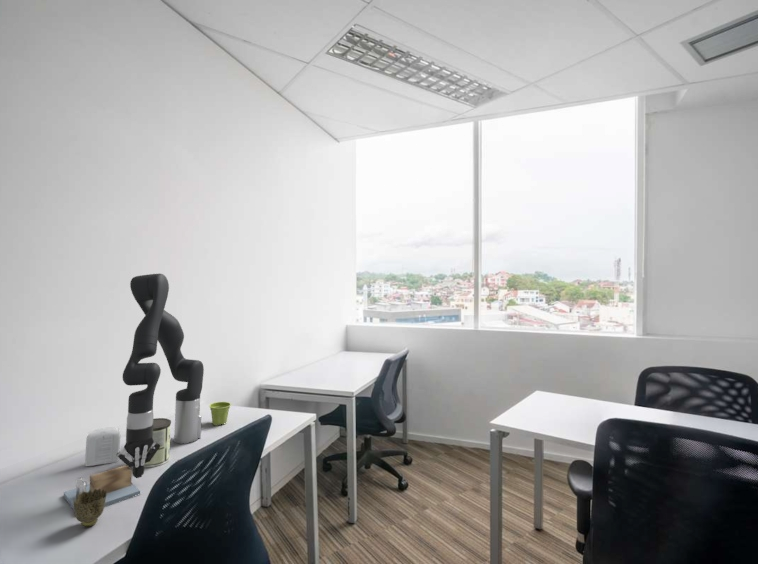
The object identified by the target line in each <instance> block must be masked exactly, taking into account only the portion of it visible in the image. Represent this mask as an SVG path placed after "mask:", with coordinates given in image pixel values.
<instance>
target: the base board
mask: <svg viewBox="0 0 758 564" xmlns="http://www.w3.org/2000/svg"><path fill="white" fill-rule="evenodd" d="M89 488H90V483H89V484H86V492H89ZM138 494H140V495H141V490H140V489H139V488H138V487H137V486H136V485H135V484H133V482H131V486H128V487H125V488H122V489H118V490H115V491H112V492H109V493H107V495H106V501H105V506H106V507H108V506H112V505H115V504H117V503H120V502H122V500H123V501H125V499H126V500H128V499H127V498H129V499H131V498H133V496H134V497H136V496H135V495H137V496H139V495H138ZM63 497H64V499H65V500H66V502H67V503H68V505H69V506H70V507H71V509H72V510H73V511H74V502H73V500H74V499H77V498H76V487H75V488H72V489H69V490H66V491H63ZM119 501H120V502H119ZM105 506H104V508H105Z"/></svg>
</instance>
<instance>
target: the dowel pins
mask: <svg viewBox="0 0 758 564" xmlns="http://www.w3.org/2000/svg"><path fill="white" fill-rule="evenodd" d="M75 481H76V483H75V484H76V485H75V486H76V487H75V488H76V498H77V495H78V494H81V493H82V492H83V491H84V492H86V485H87V481H84V478H83V477H78V478H77V479H76V480H75Z"/></svg>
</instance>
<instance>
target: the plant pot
mask: <svg viewBox="0 0 758 564" xmlns="http://www.w3.org/2000/svg"><path fill="white" fill-rule="evenodd" d="M231 405H232V404H231V402H227V401H217V402H212V403H210V404H209V406H208V407H209V408H210V411H211V412H210V414H211V420H212V425H214V426H220V425H221V424H224V423H226V422H227V421H228V416H229V410H230V408H231ZM227 423H228V422H227ZM227 423H226V424H227ZM224 425H225V424H224ZM221 426H222V425H221Z"/></svg>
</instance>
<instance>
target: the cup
mask: <svg viewBox="0 0 758 564" xmlns="http://www.w3.org/2000/svg"><path fill="white" fill-rule="evenodd" d="M106 495H107V491H105V492H104V489H103V490H102V492H101V489H98V490H97V489H95V490H94V491H93V492H92V491H91V490H89V492H84V491H83V492H82V493H81V494H78V495H77V499H74V500H73V502H74V510H73V512H74V515H75V518H76V520H77V521H78V522H80V526H82V528H90V527H92V526H95V525H97V522H98V518H99V517H101V515H102V514H103V513H104V509H105V507H104V506H105V501H106Z"/></svg>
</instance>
